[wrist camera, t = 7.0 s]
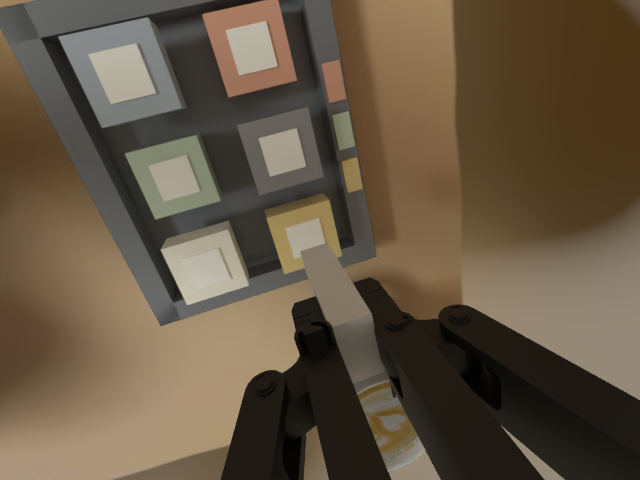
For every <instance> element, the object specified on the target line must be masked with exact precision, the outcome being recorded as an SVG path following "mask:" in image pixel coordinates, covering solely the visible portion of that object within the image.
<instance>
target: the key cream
mask: <svg viewBox="0 0 640 480" xmlns="http://www.w3.org/2000/svg"><path fill="white" fill-rule="evenodd" d="M161 252H162V254H163V256H164V258H165V260H166V262H167V264H168V266H169V269H170V271H171V273H172V275H173V277H174V279H175V281H176V283H177V285H178V287H179V289H180V291H181V293H182V296H183V298H184V300H185V302H186V304H187V305H190V304H193V303H196V302H199V301H202V300H205V299H209V298H212V297H215V296H218V295H221V294H224V293H227V292H231V291H234V290H237V289H240V288H243V287H246V286H249V276H248V271H247V268H246V265H245V263H244V260H243V257H242V254H241V252H240V249H239V246H238V244H237V241H236V238H235V236H234V233H233V230H232V227H231V225H230V222H229V221H225V222H222V223H218V224H215V225H212V226H208V227H205V228H201V229H198V230H194V231H191V232H188V233H184V234H181V235H177V236H174V237H171V238H167V239H166V241H165V243H164V244H163V246H162V248H161Z"/></svg>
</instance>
